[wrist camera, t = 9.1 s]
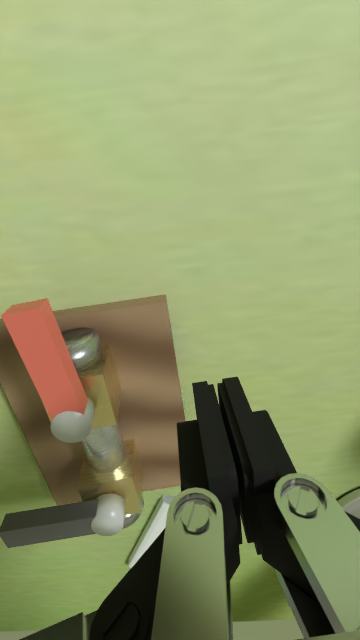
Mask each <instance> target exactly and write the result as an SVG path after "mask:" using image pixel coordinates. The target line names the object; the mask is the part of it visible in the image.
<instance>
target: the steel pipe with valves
mask: <svg viewBox="0 0 360 640" xmlns="http://www.w3.org/2000/svg"><path fill="white" fill-rule="evenodd" d="M61 334H62V336H63V339H64V341H65V344H66V346H67V349H68V351H69V354H70V356H71V359H72V361H73V364H74V366H75V369H76V371H77V374H78V376H79V379H80V381H81V384H82V386H83V389H84V391H85V394H86V396H87V398H89V399H90V400H91V401H92V402H93V403H94V405H95V414H94V418H93V422H92V426H91V430H90V434H89V435H88V437H87V438H86V439H84V440H82V441H81V443H82V445H83V448H84V451H85V454H84V458H83V463H82V467H81V471H80V475H79V479H78V483H77V488H78V491H79V493H80V496H81V498H82V501H83V502H84V501H90V500H96V499H97V498H98V497H99V496H101V495H104V494H117V495H119V496H121V497H122V498H123V499H124V501H125V509H124V521H123V528H122V529H124V528H126V527H128V526H130V525H132V524H133V523H134V522H135V521H136V520H137V519H138V518H139V516H140V515H141V513H142V510H143V506H144V500H143V496H142V489H143V470H142V466H141V462H140V458H139V454H138V450H137V446H136V443H135V439H130V440H123V436H122V433H121V429H120V426H119V422H118V414H119V406H120V399H121V392H122V388H121V385H120V381H119V377H118V373H117V369H116V365H115V361H114V357H113V354H112V350H111V346H110V344H109V345H102V346H101V342H100V339H99V335H98V332H97V331H96V330H95V329H92V328H87V327H80V328H72V329H68V330H64V331H61ZM43 405H44V404H43ZM44 407H45V406H44ZM45 410H46V408H45ZM46 412H47V410H46ZM47 415H48V417H49V420H50V422H51V423H52V420H51V418H50V416H49V414H48V412H47Z"/></svg>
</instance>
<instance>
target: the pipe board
mask: <svg viewBox="0 0 360 640" xmlns="http://www.w3.org/2000/svg"><path fill="white" fill-rule="evenodd" d="M53 314H54V316H55V319H56V321H57V324H58V326H59V329H60V331H64V330H68V329H72V328H80V327H87V328H92V329H95V330H96V331H97V332H98V335H99V339H100V342H101V346H102V345H109V344H110V346H111V350H112V354H113V357H114V361H115V365H116V369H117V373H118V377H119V381H120V385H121V388H122V392H121V399H120V406H119V414H118V422H119V426H120V429H121V433H122V436H123V440H130V439H135V443H136V446H137V450H138V454H139V458H140V462H141V466H142V470H143V489H142V491H149V490H155V489H161V488H167V487H173V486H180V485H181V481H180V467H179V452H178V438H177V423H178V422H185V416H184V409H183V403H182V397H181V390H180V384H179V377H178V371H177V364H176V358H175V352H174V345H173V339H172V332H171V326H170V319H169V313H168V307H167V300H166V295H160V296H154V297H147V298H140V299H133V300H127V301H120V302H113V303H106V304H100V305H93V306H86V307H79V308H72V309H66V310H59V311H53ZM0 384H1V386H2V388H3V390H4V392H5V394H6V396H7V399H8V401H9V403H10V405H11V407H12V409H13V411H14V414H15V416H16V418H17V420H18V422H19V424H20V426H21V429H22V431H23V433H24V435H25V437H26V439H27V441H28V444H29V446H30V448H31V450H32V452H33V454H34V456H35V459H36V461H37V463H38V465H39V467H40V469H41V471H42V474H43V476H44V478H45V480H46V482H47V484H48V486H49V489H50V491H51V493H52V495H53V497H54V499H55V502H56V504H57V505H62V504H68V503H74V502H80V501H82V498H81V496H80V493H79V491H78V488H77V483H78V479H79V475H80V471H81V467H82V463H83V458H84V454H85V451H84V448H83V445H82V443H81V441H80V442H76V443H68V442H63V441H61V440H59V439H57V438H56V437H55V436H54V435H53V434H52V432H51V422H50V420H49V417H48V415H47V412H46V410H45V407H44V405H43V402H42V400H41V397H40V395H39V393H38V391H37V389H36V387H35V385H34V383H33V381H32V379H31V377H30V375H29V373H28V371H27V368H26V366H25V364H24V362H23V360H22V358H21V356H20V354H19V352H18V350H17V348H16V346H15V344H14V342H13V339H12V337H11V335H10V333H9V331H8V329H7V327H6V325H5V323H4V321H3V319H0Z"/></svg>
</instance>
